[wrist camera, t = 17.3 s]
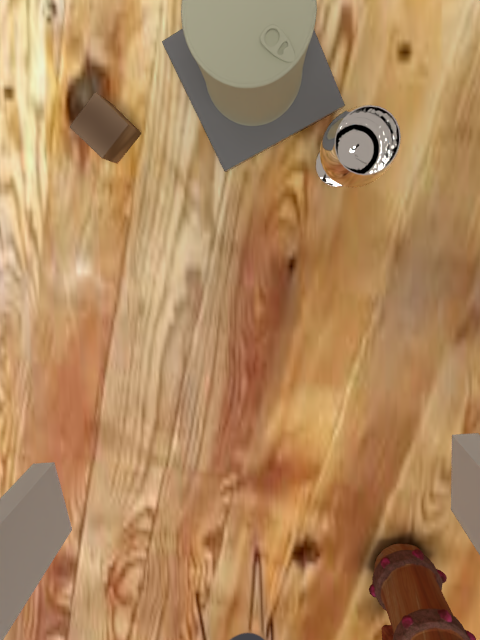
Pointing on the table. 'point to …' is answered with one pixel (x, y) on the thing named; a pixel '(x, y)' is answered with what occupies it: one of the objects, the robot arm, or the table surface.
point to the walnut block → (105, 129)
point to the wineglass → (358, 147)
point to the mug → (413, 597)
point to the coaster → (248, 141)
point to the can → (250, 53)
